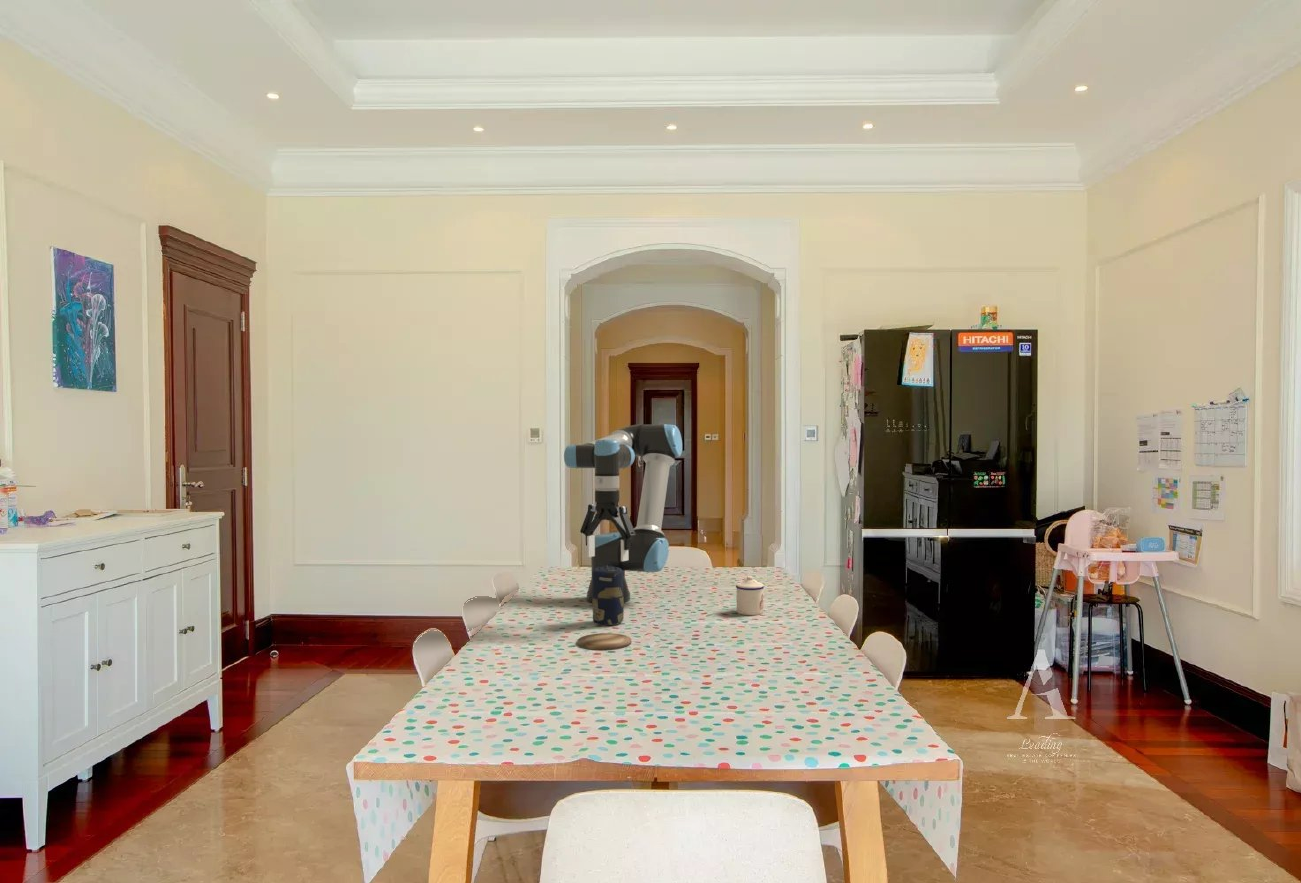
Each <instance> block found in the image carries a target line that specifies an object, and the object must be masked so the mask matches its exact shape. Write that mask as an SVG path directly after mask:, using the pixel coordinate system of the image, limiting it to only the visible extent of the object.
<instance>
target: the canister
mask: <svg viewBox="0 0 1301 883" xmlns="http://www.w3.org/2000/svg"><path fill="white" fill-rule="evenodd" d="M591 578H592V593H593V603H592V621H593V623H595V624H597V625H600V626H601V625H602V626H612V625H618V624H621V623H623V621H624V616H625V615H624V613H625V612H624V610H625V609H624V607H625V606H624V603H625V602H624V601H623V571H622V569H621V568H618V567H608V565H606V567H598V568H595V569H594V570H593V572H592V571H591Z"/></svg>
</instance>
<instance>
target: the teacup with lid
mask: <svg viewBox="0 0 1301 883" xmlns="http://www.w3.org/2000/svg"><path fill="white" fill-rule="evenodd" d="M735 588H736V613H738V614H739V615H742V616H743V615H744V616H758V615H762V614H763V613H764V588H765V586H764V583H763V582H759V581H757V580H756V579H754V577H753V576H751V575H748V576H747V577H746V579H744V580H742V581H740V582H738V583H736V584H735Z"/></svg>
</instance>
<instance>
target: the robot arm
mask: <svg viewBox="0 0 1301 883" xmlns="http://www.w3.org/2000/svg"><path fill="white" fill-rule="evenodd" d="M563 452H564V454H563V460H564V464H565V466H566V467H567V468H570V469H594V488H595V489H596V490H595V492H594V502H595V503H596V504H595V503H592V504H591V503H590V504H588V505H587V512H586V515H585V517H584V519H583V523H582V526H581V528H580V531H579V532H580V533H581V534H583V535H585V546H586V553H587V554H586V557H587V558H590V559H591V561H590V562H591V565H590V567H591V573H592V572H593V570H594V569H595V568H598V567H606V565H608V567H618V568H621V569H622V571H623V601H624V603H626V602H629V601H630V600H631V592H630V590H629V587H628V583H627V580H626V572H641V573H642V572H643V573H658V572H661V571H662V570H663V568H665V565H666V564H667V561H668V557H669V553H670V549H669V547H670V543H669V540H668V539H667V538H665V533H664V532H663V530H662V525H663V520H664V519H663V518H664V512H665V504H666V496H667V489H668V482H669V474H670V467H672V466H673V465H674V464H675V462H676V458H680V457H681V456H682V453H683V440H682V434H681V432H680V429H679V427H678V426H677V425H675V424H666V423H664V424H632V425H629V426H626V427H622V428H619V429H616V430H614V431H612V432H611V433H610V434H609V435H607V436H604V437H602V438H599V439H598V438H597V439H596V440H593V441H590V442H586V443H583V444H577V443H576V444H569V445H567V446H566V447H565V448H564V451H563ZM636 457H642V460H643V461H644V463H645V468H644V473H643V474H644V475H643V482H642V489H641V496H640V501H639V509H638V515H637V522H636V526H635V527H634V526H633V524H632V522H631V520H630V516H629V513H628V506H626V505H623V506H619V503H620V491H619V490H618V489H620V469H623V470H624V469H626V468H629V467H631V466H632V465H633V463H634V462H635V458H636ZM604 520H606V521H610V522H612V523H613V524H614V526H615V528H616V529H617V531H615V532H606V533H600V534H596V535H595V534H594V533H595V531H596V529H597V528H598V526H599V525H600V524H601V523H602V522H603V521H604ZM586 601H587V602H589V603H592V604H593V593H592V577H591V578H590V582H589V585H588V589H587V592H586Z"/></svg>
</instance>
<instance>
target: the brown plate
mask: <svg viewBox="0 0 1301 883" xmlns="http://www.w3.org/2000/svg"><path fill="white" fill-rule="evenodd" d="M631 644H632V638H631V637H630V636H628V635H626V634H621V633H611V632H609V633H608V632H607V633H605V632H603V633H602V632H601V633H600V632H599V633H591V634H587V635H584V636H582V637H579V638H578V639H577V645H578V646H579V647H581V648H583V649H586V650H593V651H612V650H620V649H623V648H626V647H628V646H630V645H631Z"/></svg>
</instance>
